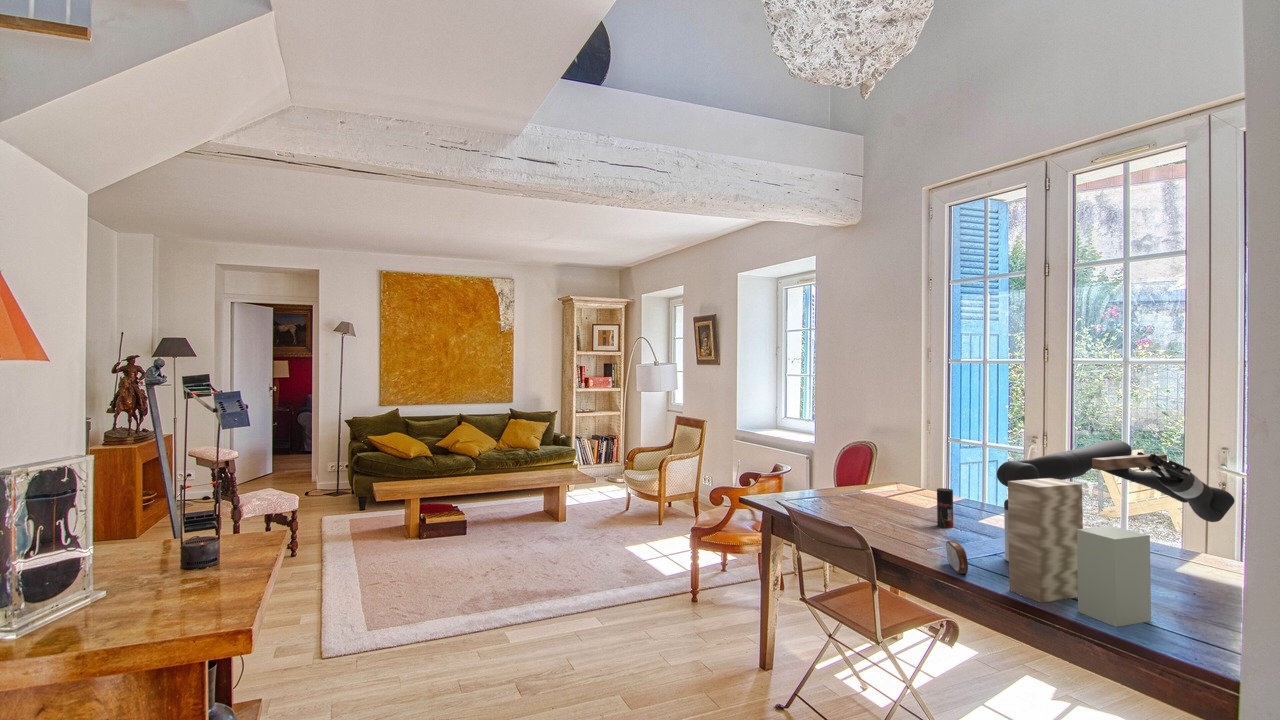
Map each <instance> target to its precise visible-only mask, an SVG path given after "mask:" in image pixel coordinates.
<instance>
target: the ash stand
mask: <svg viewBox="0 0 1280 720" xmlns="http://www.w3.org/2000/svg"><path fill="white" fill-rule="evenodd" d="M1007 499H1008V528H1009V562H1008V570H1009V571H1008V580H1009V583H1008V584H1009V585H1008V586H1009V589H1008V590H1009V591H1010V590H1012V591H1014V592H1013V593H1015V592H1016V593H1015V594H1017V593H1019V594H1018V595H1020V594H1021V595H1020V596H1022V595H1023V597H1025V596H1026V597H1025V598H1027V597H1029V598H1028V599H1030V598H1031V599H1030V600H1032V599H1033V600H1032V601H1034V600H1036V601H1035V602H1037V601H1038V603H1039V602H1041V603H1046V602H1047V603H1048V602H1053V601H1054V602H1055V601H1061V600H1069V599H1074V598H1075V597H1076V598H1078V558H1077V529H1084V528H1083V527H1084V526H1083V525H1084V521H1083V520H1084V519H1083V515H1084V513H1083V483H1078V482H1073V481H1070V480H1069V481H1068V480H1065V479H1064V480H1059V479H1053V478H1043V479H1029V480H1016V481H1008V487H1007ZM1012 591H1011V592H1012ZM1068 598H1069V599H1068Z"/></svg>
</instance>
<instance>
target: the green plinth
mask: <svg viewBox="0 0 1280 720" xmlns="http://www.w3.org/2000/svg"><path fill="white" fill-rule="evenodd" d="M1077 558H1078V597H1077V600H1078V601H1077V603H1078V605H1077V609H1078V610H1077V612H1078V613H1079V614H1083V615H1085V616H1088V617H1090V618H1093V619H1095V620H1097V621H1101V622H1103V623H1105V624H1108V625H1110V626H1113V627H1116V628H1118V627H1123V626H1124V627H1125V626H1129V625H1136V624H1137V625H1138V624H1144V623H1148V622H1152V597H1151V596H1152V593H1151V592H1152V590H1151V589H1152V588H1151V587H1152V586H1151V536H1150V535H1149V534H1146V533H1141V532H1137V531H1133V530H1130V529H1125V528H1121V527H1117V526H1113V525H1107V526H1098V527H1097V526H1095V527H1088V528H1087V527H1086V528H1083V529H1077Z"/></svg>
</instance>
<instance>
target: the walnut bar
mask: <svg viewBox="0 0 1280 720" xmlns="http://www.w3.org/2000/svg"><path fill="white" fill-rule="evenodd" d="M1143 454H1144V455H1137V454H1131V455H1130V456H1117V457H1104V458H1092V468H1091V469H1092V470H1097V471H1103V470H1114V469H1126V468H1130V469H1135V468H1138V469H1139V467H1149V466H1158V465H1155V464H1154V463H1153V462H1151V461H1150V460H1149V457H1150V454H1151V453H1143ZM1154 454H1155V455H1157V456H1158V457H1159V458H1161V459H1165V460H1166V461H1168V455H1167V454H1162V453H1154Z"/></svg>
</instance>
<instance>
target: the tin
mask: <svg viewBox="0 0 1280 720" xmlns="http://www.w3.org/2000/svg"><path fill="white" fill-rule="evenodd" d="M945 547H946V548H945V549H946V558H947V562H948V564H949V566H950V567H951V568H952V569H953V570H954V572H955V573H956V572H957V573H956V574H959V575H962V574H963V575H964V574H965V575H967V574H968V572H969V561H968V556H967V552H966V551H965V548H964V547H963V546H962V545H961V544H960V543H959V542H958V541H957V540H955V539H954V540H947V541H946V543H945Z"/></svg>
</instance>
